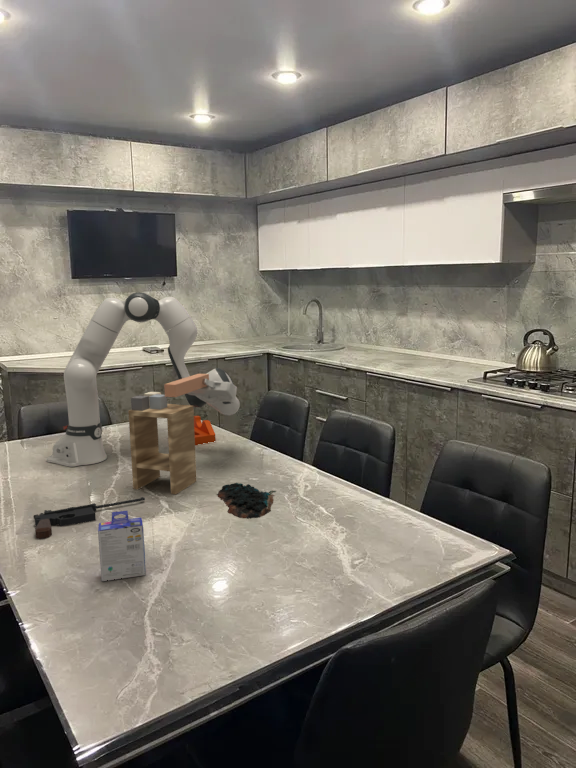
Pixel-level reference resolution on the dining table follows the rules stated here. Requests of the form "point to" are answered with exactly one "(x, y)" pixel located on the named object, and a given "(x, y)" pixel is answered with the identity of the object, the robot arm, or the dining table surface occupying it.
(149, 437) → the oak shelf
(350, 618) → the dining table surface
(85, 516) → the firearm
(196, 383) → the terracotta bar
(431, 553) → the dining table surface
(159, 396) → the slate cube
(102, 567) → the ink cartridge box
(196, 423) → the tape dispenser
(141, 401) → the charcoal cube
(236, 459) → the dining table surface
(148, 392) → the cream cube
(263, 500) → the mineral specimen
